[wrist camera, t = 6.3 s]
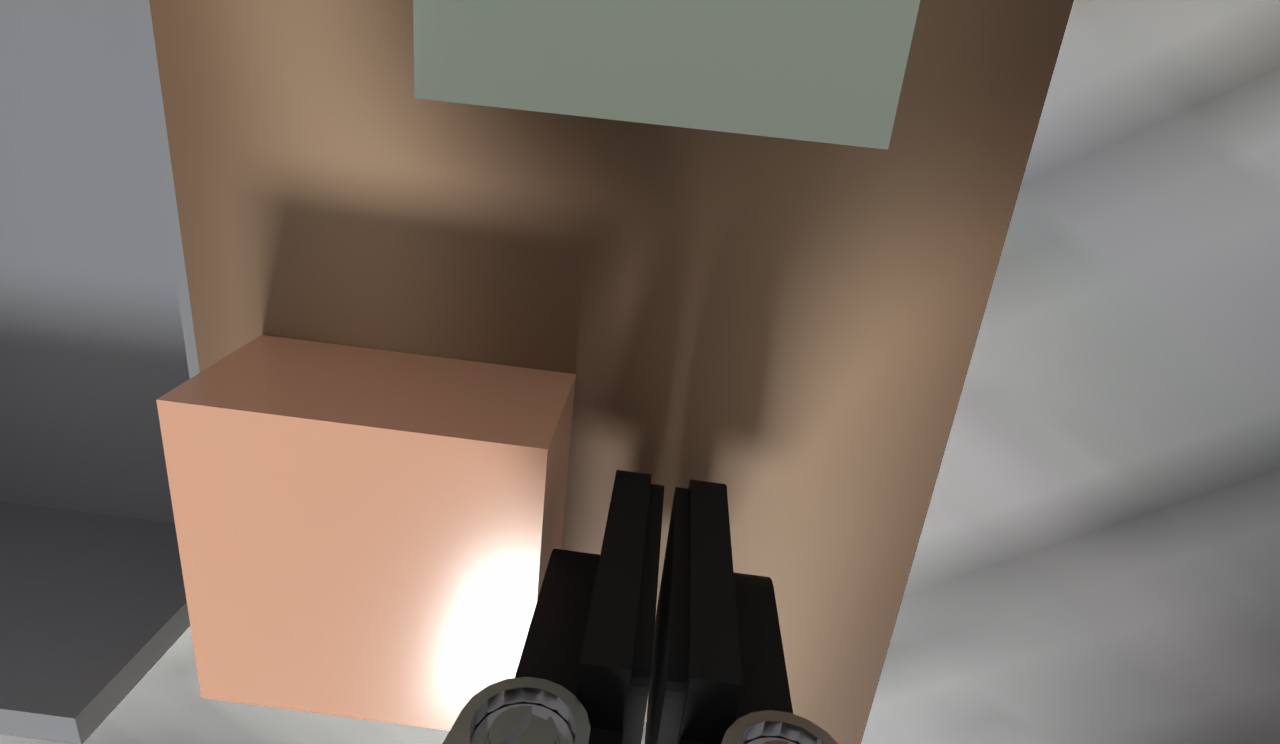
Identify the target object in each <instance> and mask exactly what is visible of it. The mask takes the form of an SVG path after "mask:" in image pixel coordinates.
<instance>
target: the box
mask: <svg viewBox="0 0 1280 744" xmlns="http://www.w3.org/2000/svg"><path fill="white" fill-rule="evenodd" d="M199 373H200V371H199V364H198V357H197V349H196V342H195V335H194V327H193V320H192V312H191V305H190V298H189V290H188V283H187V276H186V268H185V261H184V254H183V246H182V239H181V231H180V224H179V217H178V209H177V202H176V195H175V187H174V180H173V173H172V165H171V158H170V150H169V143H168V136H167V128H166V121H165V114H164V106H163V99H162V92H161V84H160V77H159V70H158V62H157V55H156V47H155V40H154V33H153V25H152V18H151V11H150V3H149V0H0V734H4V735H11V736H19V737H26V738H34V739H41V740H49V741H56V742H64V743H71V744H83V743H84V741H85V740H86V739H87V738H88V737H89V736H90V735H91V734H92V733H93V732H94V731H95V729H96V728H97V727H98V726H99V725H100V724H101V723H102V722H103V721H104V720H105V718H106V717H107V716H108V715H109V714H110V713H111V712H112V711H113V710H114V709H115V707H116V706H117V705H118V704H119V703H120V702H121V701H122V700H123V699H124V698H125V696H126V695H127V694H128V693H129V692H130V691H131V690H132V689H133V688H134V687H135V685H136V684H137V683H138V682H139V681H140V680H141V679H142V678H143V677H144V676H145V674H146V673H147V672H148V671H149V670H150V669H151V668H152V667H153V666H154V665H155V663H156V662H157V661H158V660H159V659H160V658H161V657H162V656H163V655H164V654H165V653H166V651H167V650H168V649H169V648H170V647H171V646H172V645H173V644H174V643H175V642H176V640H177V639H178V638H179V637H180V636H181V635H182V634H183V633H184V632H185V631H186V629H187V628H188V627H189V626H190V620H189V613H188V607H187V600H186V593H185V587H184V580H183V574H182V567H181V560H180V554H179V547H178V540H177V534H176V527H175V521H174V514H173V507H172V501H171V494H170V488H169V481H168V474H167V468H166V461H165V454H164V448H163V441H162V435H161V428H160V421H159V415H158V408H157V401H156V400H157V399H158V398H160V397H161V396H163V395H165V394H166V393H168V392H169V391H171V390H173V389H174V388H176V387H178V386H179V385H181V384H182V383H184V382H186V381H187V380H189V379H191V378H192V377H194V376H195V375H197V374H199Z"/></svg>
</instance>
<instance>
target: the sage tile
mask: <svg viewBox="0 0 1280 744" xmlns="http://www.w3.org/2000/svg"><path fill="white" fill-rule="evenodd" d="M919 4H920V0H413V33H414V98H417V99H426V100H435V101H444V102H453V103H463V104H472V105H481V106H490V107H499V108H509V109H518V110H527V111H536V112H546V113H555V114H564V115H573V116H582V117H592V118H601V119H610V120H619V121H628V122H638V123H647V124H656V125H665V126H674V127H684V128H693V129H702V130H711V131H721V132H730V133H739V134H748V135H757V136H767V137H776V138H785V139H794V140H803V141H813V142H822V143H831V144H840V145H849V146H859V147H868V148H877V149H886V150H888V148H889V143H890V138H891V134H892V129H893V124H894V120H895V115H896V111H897V106H898V101H899V97H900V92H901V88H902V83H903V78H904V74H905V69H906V64H907V60H908V55H909V51H910V46H911V41H912V37H913V32H914V27H915V23H916V18H917V14H918V9H919Z"/></svg>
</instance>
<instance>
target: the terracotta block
mask: <svg viewBox="0 0 1280 744" xmlns="http://www.w3.org/2000/svg"><path fill="white" fill-rule="evenodd" d="M575 379H576V374H570V373H562V372H554V371H546V370H538V369H530V368H522V367H514V366H506V365H498V364H490V363H482V362H474V361H466V360H458V359H451V358H443V357H435V356H427V355H419V354H411V353H403V352H395V351H387V350H379V349H371V348H363V347H355V346H347V345H339V344H331V343H323V342H315V341H307V340H299V339H291V338H283V337H275V336H267V335H260V336H258V337H257V338H255V339H254V340H252V341H250V342H249V343H247V344H246V345H244V346H242V347H241V348H239V349H237V350H236V351H234V352H233V353H231V354H229V355H228V356H226V357H224V358H223V359H221V360H220V361H218V362H216V363H215V364H213V365H212V366H210V367H208V368H207V369H205V370H203V371H202V372H200V373H199V374H197V375H195V376H194V377H192V378H191V379H189V380H187V381H186V382H184V383H182V384H181V385H179V386H178V387H176V388H174V389H173V390H171V391H169V392H168V393H166V394H165V395H163V396H161V397H160V398H158V399H157V400H156V401H157V408H158V415H159V421H160V428H161V435H162V441H163V448H164V454H165V461H166V468H167V474H168V481H169V488H170V494H171V501H172V507H173V514H174V521H175V527H176V534H177V540H178V547H179V554H180V560H181V567H182V574H183V580H184V587H185V593H186V600H187V607H188V613H189V620H190V627H191V633H192V640H193V646H194V653H195V660H196V666H197V673H198V680H199V686H200V693H201V698H207V699H214V700H222V701H229V702H237V703H244V704H252V705H259V706H267V707H274V708H282V709H289V710H297V711H304V712H312V713H319V714H327V715H334V716H342V717H349V718H357V719H364V720H372V721H379V722H387V723H394V724H402V725H409V726H417V727H424V728H432V729H439V730H447V731H450V730H451V728H452V726H453V724H454V723H455V721H456V719H457V717H458V716H459V714H460V712H461V711H462V709H463V708H464V707H465V705H466V704H467V703H468V702H469V700H470V699H471V698H472V697H473V696H474V695H476V694H477V693H479V692H480V691H481V690H483V689H484V688H486V687H487V686H489V685H492V684H494V683H497V682H500V681H502V680H505V679H511V678H515V675H516V672H517V668H518V665H519V662H520V658H521V655H522V651H523V648H524V644H525V641H526V638H527V634H528V631H529V627H530V624H531V620H532V617H533V614H534V610H535V607H536V603H537V600H538V596H539V593H540V590H541V586H542V583H543V579H544V576H545V573H546V569H547V566H548V562H549V559H550V556H551V553H552V550H553V549H561V548H562V536H563V524H564V512H565V500H566V488H567V476H568V464H569V452H570V440H571V427H572V415H573V403H574V391H575Z"/></svg>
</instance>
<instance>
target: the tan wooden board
mask: <svg viewBox="0 0 1280 744" xmlns="http://www.w3.org/2000/svg"><path fill="white" fill-rule="evenodd" d="M1073 1H1074V0H920V4H919V9H918V14H917V18H916V23H915V27H914V32H913V37H912V41H911V46H910V51H909V55H908V60H907V64H906V69H905V74H904V78H903V83H902V88H901V92H900V97H899V101H898V106H897V111H896V115H895V120H894V124H893V129H892V134H891V138H890V143H889V148H888V150H886V149H877V148H868V147H859V146H849V145H840V144H831V143H822V142H813V141H803V140H794V139H785V138H776V137H767V136H757V135H748V134H739V133H730V132H721V131H711V130H702V129H693V128H684V127H674V126H665V125H656V124H647V123H638V122H628V121H619V120H610V119H601V118H592V117H582V116H573V115H564V114H555V113H546V112H536V111H527V110H518V109H509V108H499V107H490V106H481V105H472V104H463V103H453V102H444V101H435V100H426V99H417V98H414V33H413V0H149V3H150V11H151V18H152V25H153V33H154V40H155V47H156V55H157V62H158V70H159V77H160V84H161V92H162V99H163V106H164V114H165V121H166V128H167V136H168V143H169V150H170V158H171V165H172V173H173V180H174V187H175V195H176V202H177V209H178V217H179V224H180V231H181V239H182V246H183V254H184V261H185V268H186V276H187V283H188V290H189V298H190V305H191V312H192V320H193V327H194V335H195V342H196V349H197V357H198V364H199V371H200V372H202V371H203V370H205V369H207V368H208V367H210V366H212V365H213V364H215V363H216V362H218V361H220V360H221V359H223V358H224V357H226V356H228V355H229V354H231V353H233V352H234V351H236V350H237V349H239V348H241V347H242V346H244V345H246V344H247V343H249V342H250V341H252V340H254V339H255V338H257V337H258V336H260V335H267V336H275V337H283V338H291V339H299V340H307V341H315V342H323V343H331V344H339V345H347V346H355V347H363V348H371V349H379V350H387V351H395V352H403V353H411V354H419V355H427V356H435V357H443V358H451V359H458V360H466V361H474V362H482V363H490V364H498V365H506V366H514V367H522V368H530V369H538V370H546V371H554V372H562V373H570V374H576V379H575V391H574V403H573V415H572V427H571V440H570V452H569V464H568V476H567V488H566V500H565V512H564V524H563V536H562V548H561V549H562V550H569V551H577V552H584V553H592V554H599V555H600V554H601V549H602V543H603V538H604V533H605V528H606V522H607V517H608V512H609V507H610V501H611V496H612V491H613V486H614V480H615V475H616V470H622V471H630V472H637V473H645V474H652V476H651V484H656V485H664V501H663V515H662V530H661V544H660V559H659V573H658V588H657V602H656V611H657V605H658V598H659V591H660V585H661V578H662V571H663V565H664V558H665V551H666V545H667V538H668V531H669V525H670V518H671V511H672V504H673V498H674V492H675V487H679V488H687V489H688V487H689V483H690V480H699V481H706V482H714V483H722V484H726V486H727V496H728V509H729V521H730V534H731V546H732V559H733V572H735V573H742V574H750V575H757V576H765V577H770V578H771V579H772V582H773V586H774V593H775V599H776V606H777V612H778V618H779V625H780V631H781V638H782V644H783V651H784V657H785V664H786V670H787V677H788V683H789V690H790V696H791V703H792V709H793V714H795V715H797V716H800V717H802V718H805V719H808V720H810V721H811V722H813V723H814V724H816V725H817V726H819V727H820V728H822V729H823V730H825V731H826V732H828V733H829V735H830V736H831V737H832V738H833V739H834V740H835V741H836V742H837V743H838V744H861V741H862V737H863V734H864V730H865V727H866V723H867V720H868V716H869V713H870V709H871V706H872V702H873V699H874V695H875V692H876V688H877V685H878V681H879V678H880V674H881V671H882V668H883V664H884V661H885V657H886V654H887V650H888V647H889V643H890V640H891V636H892V633H893V629H894V626H895V622H896V619H897V615H898V612H899V608H900V605H901V601H902V598H903V594H904V591H905V587H906V584H907V580H908V577H909V573H910V570H911V566H912V563H913V559H914V556H915V552H916V549H917V545H918V542H919V538H920V535H921V531H922V528H923V524H924V521H925V517H926V514H927V510H928V507H929V503H930V500H931V497H932V493H933V490H934V486H935V483H936V479H937V476H938V472H939V469H940V465H941V462H942V458H943V455H944V451H945V448H946V444H947V441H948V437H949V434H950V430H951V427H952V423H953V420H954V416H955V413H956V409H957V406H958V402H959V399H960V395H961V392H962V388H963V385H964V381H965V378H966V374H967V371H968V367H969V364H970V360H971V357H972V353H973V350H974V346H975V343H976V339H977V336H978V332H979V329H980V326H981V322H982V319H983V315H984V312H985V308H986V305H987V301H988V298H989V294H990V291H991V287H992V284H993V280H994V277H995V273H996V270H997V266H998V263H999V259H1000V256H1001V252H1002V249H1003V245H1004V242H1005V238H1006V235H1007V231H1008V228H1009V224H1010V221H1011V217H1012V214H1013V210H1014V207H1015V203H1016V200H1017V196H1018V193H1019V189H1020V186H1021V182H1022V179H1023V175H1024V172H1025V168H1026V165H1027V161H1028V158H1029V155H1030V151H1031V148H1032V144H1033V141H1034V137H1035V134H1036V130H1037V127H1038V123H1039V120H1040V116H1041V113H1042V109H1043V106H1044V102H1045V99H1046V95H1047V92H1048V88H1049V85H1050V81H1051V78H1052V74H1053V71H1054V67H1055V64H1056V60H1057V57H1058V53H1059V50H1060V46H1061V43H1062V39H1063V36H1064V32H1065V29H1066V25H1067V22H1068V18H1069V15H1070V11H1071V8H1072V4H1073ZM655 618H656V617H655ZM647 707H648V700H647ZM647 707H646V713H645V720H644V722H646V721H647Z"/></svg>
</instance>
